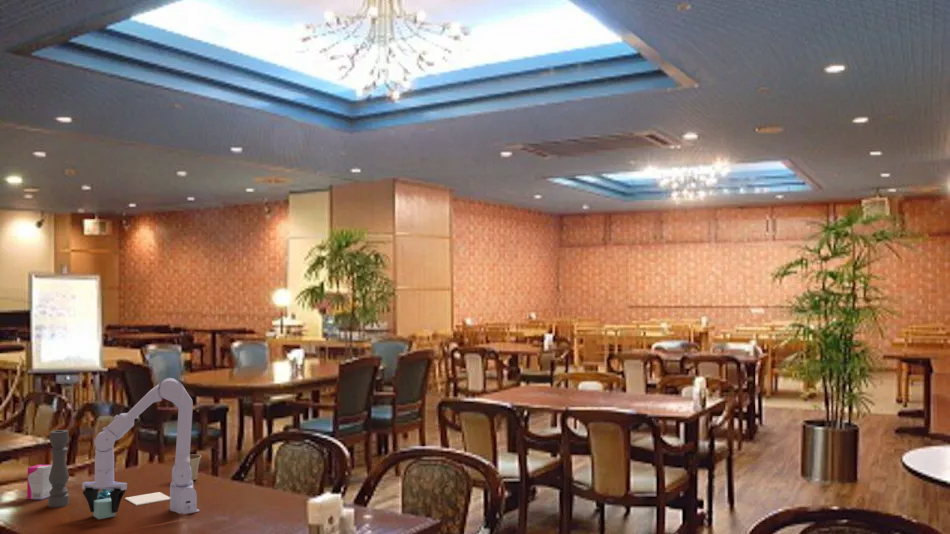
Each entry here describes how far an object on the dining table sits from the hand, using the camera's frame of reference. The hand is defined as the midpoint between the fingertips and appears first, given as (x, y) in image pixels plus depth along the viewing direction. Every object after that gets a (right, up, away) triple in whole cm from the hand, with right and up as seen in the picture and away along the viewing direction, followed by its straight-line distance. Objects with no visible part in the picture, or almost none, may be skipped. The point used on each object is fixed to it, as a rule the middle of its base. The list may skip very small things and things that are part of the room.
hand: (104, 511), depth 257 cm
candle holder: (-22, -2, +13) cm, 26 cm away
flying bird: (-11, -3, +23) cm, 25 cm away
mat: (+6, -2, +21) cm, 22 cm away
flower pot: (+9, -3, +50) cm, 51 cm away
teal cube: (0, -1, 0) cm, 1 cm away
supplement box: (-33, -3, +23) cm, 40 cm away
